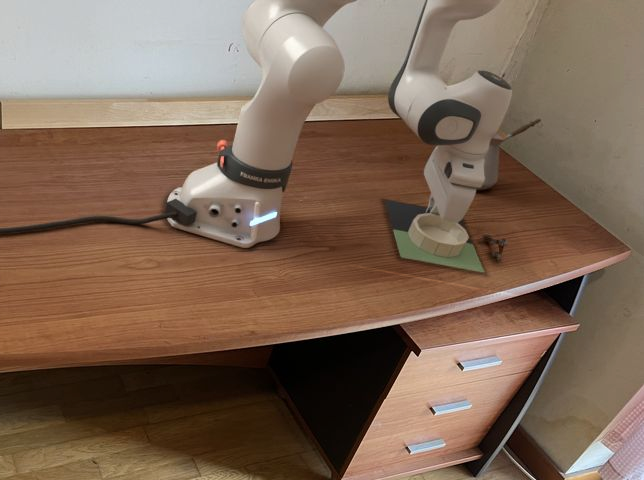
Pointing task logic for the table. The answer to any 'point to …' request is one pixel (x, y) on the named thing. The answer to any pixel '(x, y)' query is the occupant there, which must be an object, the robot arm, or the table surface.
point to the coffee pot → (493, 154)
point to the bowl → (437, 235)
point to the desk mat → (401, 223)
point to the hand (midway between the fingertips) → (430, 217)
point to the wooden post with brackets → (496, 241)
